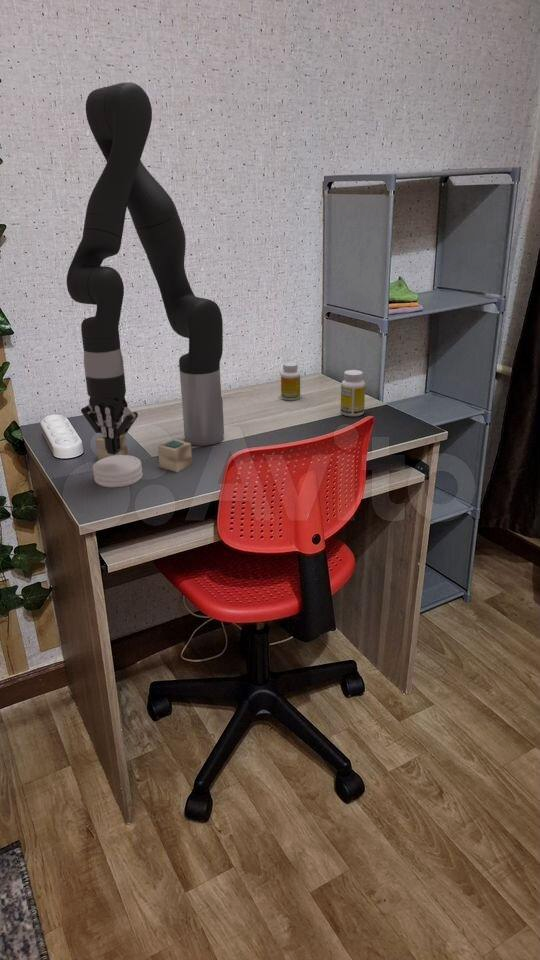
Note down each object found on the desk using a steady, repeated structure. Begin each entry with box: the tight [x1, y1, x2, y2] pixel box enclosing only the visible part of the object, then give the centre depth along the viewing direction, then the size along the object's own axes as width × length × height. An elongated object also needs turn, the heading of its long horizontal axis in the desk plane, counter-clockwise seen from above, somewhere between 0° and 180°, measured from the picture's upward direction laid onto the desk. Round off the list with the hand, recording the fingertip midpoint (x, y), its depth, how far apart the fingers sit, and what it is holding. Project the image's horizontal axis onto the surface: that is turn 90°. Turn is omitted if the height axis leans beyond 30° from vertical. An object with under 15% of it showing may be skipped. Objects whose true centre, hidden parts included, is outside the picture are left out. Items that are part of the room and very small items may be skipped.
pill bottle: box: [340, 369, 366, 417], centre depth 174 cm, size 6×6×11 cm
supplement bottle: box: [280, 361, 301, 401], centre depth 187 cm, size 5×5×10 cm
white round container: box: [92, 454, 143, 488], centre depth 141 cm, size 10×10×4 cm
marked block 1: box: [95, 433, 129, 461], centre depth 151 cm, size 5×5×5 cm
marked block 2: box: [157, 438, 193, 473], centre depth 146 cm, size 5×5×5 cm
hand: (113, 452), depth 139 cm, fingers closed
